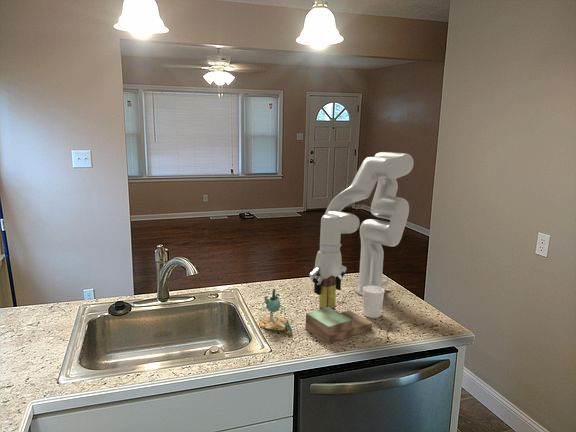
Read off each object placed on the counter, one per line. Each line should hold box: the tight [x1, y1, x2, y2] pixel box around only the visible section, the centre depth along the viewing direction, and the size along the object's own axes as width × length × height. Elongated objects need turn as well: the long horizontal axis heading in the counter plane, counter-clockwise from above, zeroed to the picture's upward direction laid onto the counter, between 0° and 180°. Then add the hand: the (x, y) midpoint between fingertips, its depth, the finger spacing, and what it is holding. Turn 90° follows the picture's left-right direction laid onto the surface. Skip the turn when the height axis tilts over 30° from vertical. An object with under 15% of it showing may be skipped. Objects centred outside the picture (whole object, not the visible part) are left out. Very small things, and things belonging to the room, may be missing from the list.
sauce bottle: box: [318, 276, 337, 311], centre depth 162 cm, size 7×6×20 cm
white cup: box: [362, 286, 385, 319], centre depth 160 cm, size 8×8×10 cm
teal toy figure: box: [259, 288, 294, 336], centre depth 148 cm, size 10×18×15 cm, turn 29°
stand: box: [304, 307, 374, 345], centre depth 147 cm, size 20×12×6 cm, turn 125°
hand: (327, 291), depth 162 cm, fingers open, 9 cm apart
